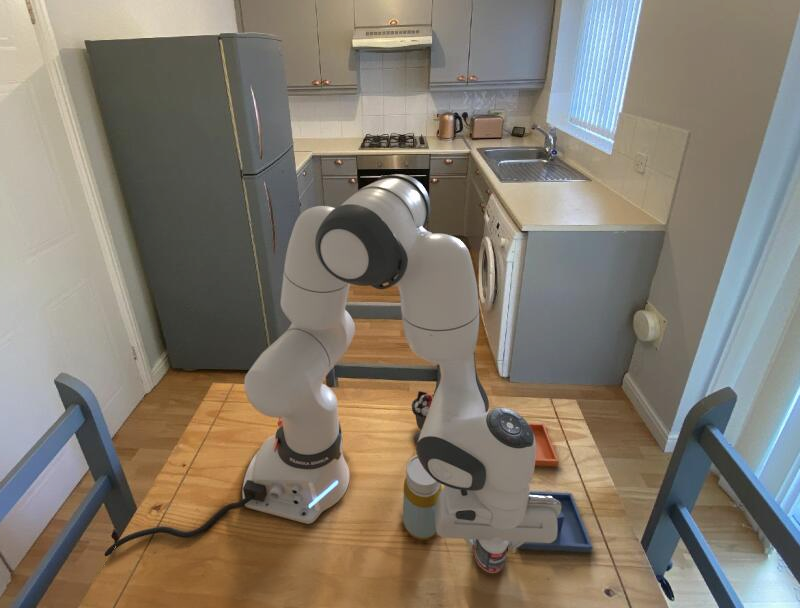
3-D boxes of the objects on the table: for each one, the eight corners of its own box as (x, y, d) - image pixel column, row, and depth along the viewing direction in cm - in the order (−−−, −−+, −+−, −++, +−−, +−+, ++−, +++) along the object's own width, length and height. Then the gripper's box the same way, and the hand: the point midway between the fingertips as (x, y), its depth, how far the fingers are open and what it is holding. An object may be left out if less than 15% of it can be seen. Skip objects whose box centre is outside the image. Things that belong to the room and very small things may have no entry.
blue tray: (517, 550, 77) (519, 543, 76) (504, 496, 86) (505, 489, 85) (590, 554, 76) (592, 547, 75) (569, 499, 85) (571, 492, 85)
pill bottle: (488, 580, 73) (493, 549, 69) (468, 551, 77) (472, 520, 73) (510, 564, 75) (516, 532, 71) (490, 536, 79) (495, 505, 76)
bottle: (438, 545, 78) (442, 491, 72) (400, 537, 79) (401, 483, 73) (439, 508, 84) (443, 455, 78) (405, 501, 86) (406, 449, 80)
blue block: (542, 535, 79) (545, 521, 77) (530, 513, 82) (533, 500, 81) (561, 530, 79) (564, 516, 78) (548, 509, 83) (551, 495, 82)
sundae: (436, 454, 95) (439, 405, 89) (407, 446, 97) (409, 397, 91) (441, 431, 101) (444, 383, 95) (414, 424, 103) (415, 376, 97)
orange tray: (497, 465, 93) (498, 458, 92) (487, 427, 102) (488, 421, 101) (557, 467, 92) (558, 461, 91) (542, 429, 101) (543, 423, 100)
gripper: (556, 479, 72) (544, 531, 77) (435, 474, 73) (432, 525, 78) (570, 518, 66) (556, 570, 71) (439, 511, 67) (435, 563, 72)
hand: (490, 547), depth 75 cm, fingers closed on pill bottle, 5 cm apart
